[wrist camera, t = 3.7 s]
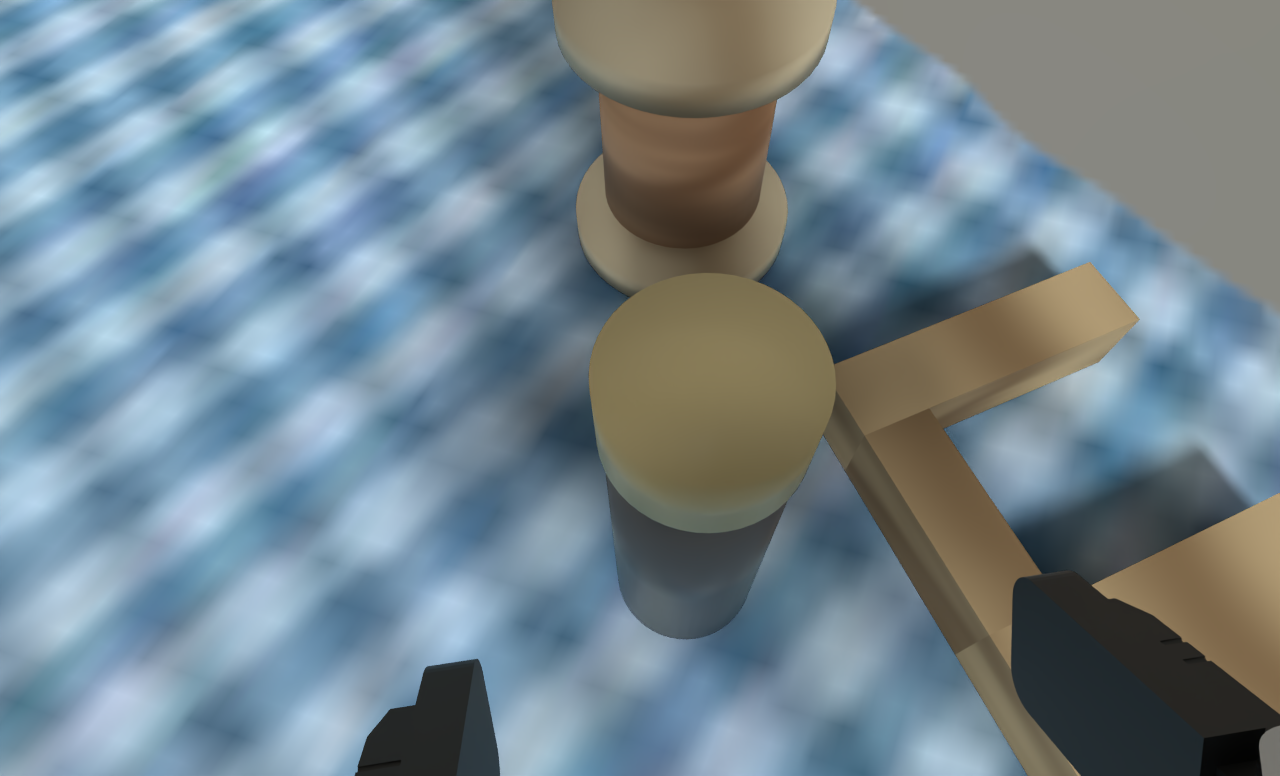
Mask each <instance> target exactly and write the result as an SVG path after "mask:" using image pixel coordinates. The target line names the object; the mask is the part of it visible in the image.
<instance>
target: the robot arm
mask: <svg viewBox="0 0 1280 776" xmlns="http://www.w3.org/2000/svg"><path fill="white" fill-rule="evenodd" d="M1011 673H1012V679H1013V683H1014V686H1015V689H1016V692H1017V695H1018V697H1019V699H1020V701H1021V703H1022V705H1023V706H1024V708H1025V709H1026V711H1027V712H1028V713H1029V714H1030V716H1031V717H1032V718H1033V719H1034V720H1035V722H1036V723H1037V724H1038V725H1039V726H1040V728H1041V729H1042V730H1043V731H1044V732H1045V734H1046V735H1047V736H1048V737H1049V738H1050V740H1051V741H1052V742H1053V743H1054V744H1055V746H1056V747H1057V748H1058V749H1059V750H1060V752H1061V753H1062V754H1063V755H1064V756H1065V758H1066V759H1067V760H1068V761H1069V762H1070V764H1071V765H1072V766H1073V767H1074V768H1075V769H1076V771H1077V772H1078V773H1079V774H1080V775H1081V776H1280V714H1279V713H1278V712H1276V711H1275V710H1274V709H1272V708H1271V707H1270V706H1269V705H1267V704H1266V703H1265V702H1264V701H1262V700H1261V699H1260V698H1258V697H1257V696H1256V695H1255V694H1253V693H1252V692H1251V691H1249V690H1248V689H1247V688H1246V687H1244V686H1243V685H1242V684H1240V683H1239V682H1238V681H1237V680H1235V679H1234V678H1233V677H1232V676H1230V675H1229V674H1228V673H1226V672H1225V671H1224V670H1223V669H1221V668H1220V667H1219V666H1217V665H1216V664H1215V663H1214V662H1212V661H1207V660H1206V658H1205V655H1203V654H1202V653H1201V652H1200V651H1198V650H1197V649H1196V648H1194V647H1193V646H1192V645H1191V644H1189V643H1188V642H1183V641H1182V638H1181V637H1180V636H1179V635H1178V634H1177V633H1175V632H1174V631H1173V630H1171V629H1170V628H1169V627H1168V626H1166V625H1165V624H1164V623H1162V622H1161V621H1160V620H1159V619H1157V618H1156V617H1155V616H1154V615H1152V614H1149V613H1147V612H1145V611H1143V610H1141V609H1138V608H1136V607H1134V606H1132V605H1129V604H1127V603H1125V602H1123V601H1121V600H1118V599H1116V598H1112V599H1108V598H1106V597H1105V596H1104V595H1103V594H1101V593H1100V592H1099V591H1098V590H1096V589H1095V588H1094V587H1093V586H1092V585H1090V584H1089V583H1088V582H1087V581H1085V580H1084V579H1083V578H1082V577H1081V576H1079V575H1078V574H1077V573H1075V572H1073V571H1070V570H1066V571H1060V572H1053V573H1047V574H1040V575H1033V576H1027V577H1021V578H1019V579H1017V581H1016V582H1015V584H1014V587H1013V598H1012V637H1011ZM355 776H500V767H499V757H498V749H497V743H496V738H495V733H494V728H493V723H492V717H491V712H490V707H489V702H488V697H487V692H486V686H485V681H484V676H483V671H482V667H481V664H480V662H479V660H478V659H473V660H467V661H460V662H454V663H447V664H441V665H434V666H427V667H426V668H425V670H424V673H423V677H422V681H421V685H420V689H419V693H418V697H417V701H416V705H413V706H407V707H400V708H394V709H390V710H389V711H388V713H387V714H386V715H385V716H384V717H383V719H382V720H381V721H380V722H379V723H378V725H377V726H376V727H375V728H374V729H373V731H372V732H371V733H370V734H369V735H368V737H367V739H366V742H365V745H364V748H363V751H362V755H361V758H360V761H359V764H358V772H357V773H355Z"/></svg>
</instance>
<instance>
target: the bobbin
mask: <svg viewBox="0 0 1280 776" xmlns="http://www.w3.org/2000/svg"><path fill="white" fill-rule="evenodd" d="M836 2H837V0H552V6H553V14H554V23H555V32H556V37H557V41H558V45H559V48H560V50H561V52H562V54H563V56H564V58H565V60H566V61H567V63H568V64H569V66H570V67H571V68H572V70H573V71H574V72H575V73H576V74H577V75H578V76H579V77H580V78H581V79H582V80H583V81H584V82H586V83H587V84H588V85H589V86H591V87H592V88H593V89H594V90H596V91H598V92H599V103H600V118H601V133H602V148H603V153H602V154H601V155H600V156H599V157H598V158H597V159H596V160H595V161H594V162H593V164H592V165H591V166H590V167H589V169H588V170H587V172H586V173H585V175H584V177H583V179H582V182H581V184H580V187H579V190H578V194H577V201H576V213H577V223H578V232H579V238H580V243H581V247H582V249H583V251H584V254H585V256H586V258H587V260H588V261H589V263H590V265H591V266H592V267H593V269H594V270H595V271H596V272H597V274H598V275H599V276H600V277H601V278H602V279H604V280H605V281H606V282H607V283H608V284H609V285H611V286H612V287H614V288H615V289H616V290H618V291H619V292H621V293H623V294H625V295H627V296H629V297H632V296H633V295H635V294H636V293H638V292H639V291H641V290H643V289H645V288H646V287H648V286H651V285H653V284H655V283H658V282H660V281H663V280H666V279H669V278H673V277H676V276H682V275H687V274H697V273H721V274H728V275H735V276H739V277H743V278H747V279H751V280H753V281H756V282H758V281H759V280H760V279H761V278H762V277H763V276H764V275H765V274H766V273H767V272H768V270H769V269H770V268H771V266H772V265H773V263H774V262H775V259H776V257H777V255H778V253H779V250H780V247H781V244H782V240H783V235H784V231H785V227H786V222H787V213H788V209H787V199H786V194H785V190H784V188H783V185H782V182H781V180H780V178H779V177H778V175H777V173H776V172H775V170H774V169H773V168H772V166H771V165H770V164H769V163H768V162H767V161H766V159H767V153H768V147H769V142H770V136H771V130H772V125H773V119H774V114H775V108H776V102H777V99H779V98H781V97H783V96H784V95H786V94H788V93H789V92H791V91H792V90H793V89H795V88H796V87H798V86H799V85H800V84H801V83H802V82H803V81H804V80H805V79H806V78H807V77H809V76H810V74H811V73H812V72H813V71H814V69H815V68H816V67H817V65H818V64H819V62H820V60H821V58H822V56H823V54H824V52H825V49H826V46H827V43H828V39H829V34H830V30H831V26H832V21H833V17H834V13H835V8H836Z"/></svg>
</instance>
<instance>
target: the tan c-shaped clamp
mask: <svg viewBox="0 0 1280 776" xmlns="http://www.w3.org/2000/svg"><path fill="white" fill-rule="evenodd" d="M1139 320H1140V319H1139V318H1138V317H1137V316H1136V314H1135V313H1134V312H1133V311H1132V310H1131V309H1130V307H1129V306H1128V305H1127V304H1126V303H1125V302H1124V301H1123V299H1122V298H1121V297H1120V296H1119V295H1118V294H1117V293H1116V291H1115V290H1114V289H1113V288H1112V287H1111V286H1110V284H1109V283H1108V282H1107V281H1106V280H1105V279H1104V278H1103V276H1102V275H1101V274H1100V273H1099V272H1098V271H1097V269H1096V268H1095V267H1094V266H1093V265H1092V264H1091V263H1090V262H1089V263H1086V264H1084V265H1081V266H1079V267H1076V268H1074V269H1071V270H1069V271H1066V272H1064V273H1061V274H1059V275H1056V276H1054V277H1051V278H1049V279H1046V280H1044V281H1041V282H1039V283H1036V284H1034V285H1031V286H1029V287H1026V288H1024V289H1021V290H1019V291H1016V292H1014V293H1011V294H1009V295H1006V296H1004V297H1001V298H999V299H996V300H994V301H991V302H989V303H986V304H984V305H981V306H979V307H976V308H974V309H971V310H969V311H966V312H964V313H962V314H959V315H957V316H954V317H952V318H949V319H947V320H944V321H942V322H939V323H937V324H934V325H932V326H929V327H927V328H924V329H922V330H919V331H917V332H914V333H912V334H909V335H907V336H904V337H902V338H899V339H897V340H894V341H892V342H889V343H887V344H884V345H882V346H879V347H877V348H874V349H872V350H869V351H867V352H864V353H862V354H859V355H857V356H854V357H852V358H849V359H847V360H844V361H842V362H839V363H837V364H834V368H835V377H836V393H835V401H834V406H833V410H832V414H831V416H830V419H829V421H828V424H827V426H826V428H825V431H824V433H823V435H824V437H825V438H826V440H827V442H828V443H829V445H830V447H831V448H832V450H833V452H834V453H835V455H836V457H837V458H838V460H839V462H840V463H841V465H842V467H843V468H844V470H845V472H846V473H847V475H848V477H849V478H850V480H851V482H852V483H853V485H854V487H855V488H856V490H857V492H858V493H859V495H860V497H861V498H862V500H863V502H864V503H865V505H866V507H867V508H868V510H869V512H870V513H871V515H872V517H873V518H874V520H875V522H876V523H877V525H878V527H879V528H880V530H881V532H882V533H883V535H884V537H885V538H886V540H887V542H888V543H889V545H890V547H891V548H892V550H893V552H894V553H895V555H896V557H897V558H898V560H899V562H900V563H901V565H902V567H903V568H904V570H905V572H906V573H907V575H908V577H909V578H910V580H911V582H912V583H913V585H914V587H915V588H916V590H917V592H918V593H919V595H920V597H921V598H922V600H923V602H924V603H925V605H926V607H927V608H928V610H929V612H930V613H931V615H932V617H933V618H934V620H935V622H936V623H937V625H938V627H939V628H940V630H941V632H942V633H943V635H944V637H945V638H946V640H947V642H948V643H949V645H950V647H951V648H952V650H953V652H954V653H955V655H956V657H957V658H958V660H959V662H960V663H961V665H962V667H963V668H964V670H965V672H966V673H967V675H968V677H969V678H970V680H971V682H972V683H973V685H974V687H975V688H976V690H977V692H978V693H979V695H980V697H981V698H982V700H983V702H984V703H985V705H986V707H987V708H988V710H989V712H990V713H991V715H992V717H993V718H994V720H995V722H996V723H997V725H998V727H999V728H1000V730H1001V732H1002V733H1003V735H1004V737H1005V738H1006V740H1007V742H1008V743H1009V745H1010V747H1011V748H1012V750H1013V752H1014V753H1015V755H1016V757H1017V758H1018V760H1019V762H1020V763H1021V765H1022V767H1023V768H1024V770H1025V772H1026V773H1027V775H1028V776H1081V775H1080V774H1079V773H1078V772H1077V771H1076V769H1075V768H1074V767H1073V766H1072V765H1071V764H1070V762H1069V761H1068V760H1067V759H1066V758H1065V756H1064V755H1063V754H1062V753H1061V752H1060V750H1059V749H1058V748H1057V747H1056V746H1055V744H1054V743H1053V742H1052V741H1051V740H1050V738H1049V737H1048V736H1047V735H1046V734H1045V732H1044V731H1043V730H1042V729H1041V728H1040V726H1039V725H1038V724H1037V723H1036V722H1035V720H1034V719H1033V718H1032V717H1031V716H1030V714H1029V713H1028V712H1027V711H1026V709H1025V708H1024V706H1023V705H1022V703H1021V701H1020V699H1019V697H1018V695H1017V692H1016V689H1015V686H1014V683H1013V679H1012V673H1011V637H1012V598H1013V587H1014V584H1015V582H1016V581H1017V579H1019V578H1021V577H1027V576H1033V575H1040V574H1042V573H1041V572H1040V570H1039V569H1038V568H1037V566H1036V565H1035V563H1034V562H1033V560H1032V559H1031V557H1030V556H1029V554H1028V553H1027V551H1026V550H1025V548H1024V547H1023V545H1022V544H1021V543H1020V541H1019V540H1018V538H1017V537H1016V535H1015V534H1014V532H1013V531H1012V529H1011V528H1010V526H1009V525H1008V523H1007V522H1006V520H1005V519H1004V517H1003V516H1002V515H1001V513H1000V512H999V510H998V509H997V507H996V506H995V504H994V503H993V501H992V500H991V498H990V497H989V495H988V494H987V492H986V491H985V490H984V488H983V487H982V485H981V484H980V482H979V481H978V479H977V478H976V476H975V475H974V473H973V472H972V470H971V469H970V467H969V466H968V465H967V463H966V462H965V460H964V459H963V457H962V456H961V454H960V453H959V451H958V450H957V448H956V447H955V445H954V444H953V442H952V441H951V440H950V438H949V437H948V435H947V434H946V432H945V431H944V428H946V427H948V426H951V425H953V424H955V423H958V422H960V421H962V420H965V419H967V418H969V417H972V416H974V415H976V414H979V413H981V412H983V411H986V410H988V409H990V408H993V407H995V406H997V405H1000V404H1002V403H1004V402H1007V401H1009V400H1011V399H1014V398H1016V397H1018V396H1021V395H1023V394H1025V393H1028V392H1030V391H1032V390H1035V389H1037V388H1039V387H1042V386H1044V385H1046V384H1049V383H1051V382H1053V381H1056V380H1058V379H1060V378H1063V377H1065V376H1067V375H1070V374H1072V373H1074V372H1077V371H1079V370H1081V369H1084V368H1086V367H1088V366H1091V365H1093V364H1095V363H1098V362H1099V361H1100V360H1101V359H1102V358H1103V357H1104V356H1105V355H1106V354H1107V353H1108V352H1109V351H1110V350H1111V349H1112V348H1113V347H1114V346H1115V345H1116V344H1117V342H1118V341H1119V340H1120V339H1121V338H1122V337H1123V336H1124V335H1125V334H1126V333H1127V332H1128V331H1129V330H1130V329H1131V328H1132V327H1133V326H1134V325H1135V324H1136V323H1137V322H1138V321H1139ZM1092 586H1093V587H1094V588H1095V589H1096V590H1098V591H1099V592H1100V593H1101V594H1103V595H1104V596H1105V597H1106V598H1108V599H1112V598H1116V599H1118V600H1121V601H1123V602H1125V603H1127V604H1129V605H1132V606H1134V607H1136V608H1138V609H1141V610H1143V611H1145V612H1147V613H1149V614H1152V615H1154V616H1155V617H1156V618H1157V619H1159V620H1160V621H1161V622H1162V623H1164V624H1165V625H1166V626H1168V627H1169V628H1170V629H1171V630H1173V631H1174V632H1175V633H1177V634H1178V635H1179V636H1180V637H1181V638H1182V641H1183V642H1188V643H1189V644H1191V645H1192V646H1193V647H1194V648H1196V649H1197V650H1198V651H1200V652H1201V653H1202V654H1203V655H1205V658H1206V660H1207V661H1212V662H1214V663H1215V664H1216V665H1217V666H1219V667H1220V668H1221V669H1223V670H1224V671H1225V672H1226V673H1228V674H1229V675H1230V676H1232V677H1233V678H1234V679H1235V680H1237V681H1238V682H1239V683H1240V684H1242V685H1243V686H1244V687H1246V688H1247V689H1248V690H1249V691H1251V692H1252V693H1253V694H1255V695H1256V696H1257V697H1258V698H1260V699H1261V700H1262V701H1264V702H1265V703H1266V704H1267V705H1269V706H1270V707H1271V708H1272V709H1274V710H1275V711H1276V712H1278V713H1279V714H1280V493H1279V494H1277V495H1275V496H1273V497H1271V498H1268V499H1266V500H1264V501H1262V502H1260V503H1258V504H1256V505H1254V506H1252V507H1250V508H1248V509H1246V510H1244V511H1242V512H1240V513H1238V514H1236V515H1234V516H1232V517H1230V518H1228V519H1226V520H1224V521H1221V522H1219V523H1217V524H1215V525H1213V526H1211V527H1209V528H1207V529H1205V530H1203V531H1201V532H1199V533H1197V534H1195V535H1193V536H1191V537H1189V538H1187V539H1185V540H1183V541H1181V542H1179V543H1177V544H1174V545H1172V546H1170V547H1168V548H1166V549H1164V550H1162V551H1160V552H1158V553H1156V554H1154V555H1152V556H1150V557H1148V558H1146V559H1144V560H1142V561H1140V562H1138V563H1136V564H1134V565H1132V566H1130V567H1127V568H1125V569H1123V570H1121V571H1119V572H1117V573H1115V574H1113V575H1111V576H1109V577H1107V578H1105V579H1103V580H1101V581H1099V582H1097V583H1095V584H1093V585H1092Z"/></svg>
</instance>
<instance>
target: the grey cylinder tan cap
mask: <svg viewBox="0 0 1280 776" xmlns="http://www.w3.org/2000/svg"><path fill="white" fill-rule="evenodd" d="M589 389H590V397H591V405H592V412H593V420H594V427H595V435H596V442H597V448H598V453H599V457H600V460H601V463H602V465H603V468H604V470H605V472H606V478H607V487H608V495H609V504H610V512H611V521H612V530H613V538H614V547H615V555H616V564H617V572H618V581H619V586H620V590H621V593H622V596H623V599H624V601H625V603H626V605H627V606H628V608H629V609H630V611H631V612H632V614H633V615H634V616H635V617H636V618H637V619H638V620H639V621H640V622H641V623H642V624H644V625H645V626H646V627H648V628H649V629H651V630H652V631H655V632H657V633H659V634H661V635H664V636H667V637H671V638H676V639H695V638H700V637H704V636H707V635H710V634H713V633H715V632H716V631H718V630H720V629H722V628H723V627H724V626H726V625H727V624H728V623H729V622H730V621H731V620H732V619H733V618H734V617H735V616H736V615H737V614H738V612H739V611H740V609H741V608H742V606H743V604H744V602H745V600H746V597H747V595H748V592H749V590H750V588H751V585H752V583H753V581H754V578H755V576H756V574H757V571H758V569H759V567H760V564H761V562H762V559H763V557H764V555H765V552H766V550H767V548H768V545H769V543H770V541H771V538H772V536H773V534H774V531H775V529H776V526H777V524H778V522H779V519H780V517H781V515H782V512H783V510H784V508H785V505H786V503H787V501H788V500H789V498H790V497H791V496H792V495H793V493H794V492H795V491H796V490H797V488H798V486H799V485H800V483H801V481H802V480H803V478H804V476H805V474H806V471H807V469H808V467H809V465H810V462H811V460H812V458H813V456H814V453H815V451H816V449H817V446H818V444H819V442H820V440H821V437H822V435H823V433H824V431H825V428H826V426H827V424H828V421H829V419H830V416H831V414H832V410H833V406H834V401H835V393H836V377H835V368H834V364H833V359H832V356H831V353H830V350H829V348H828V345H827V343H826V341H825V339H824V337H823V336H822V334H821V332H820V330H819V329H818V328H817V326H816V325H815V324H814V322H813V321H812V319H811V318H810V317H809V316H808V315H807V314H806V313H805V312H804V311H803V310H802V309H801V308H800V307H799V306H797V305H796V304H795V303H794V302H793V301H791V300H790V299H789V298H787V297H786V296H784V295H783V294H781V293H779V292H778V291H776V290H774V289H772V288H770V287H768V286H766V285H764V284H761V283H759V282H756V281H753V280H751V279H747V278H743V277H739V276H735V275H728V274H721V273H697V274H687V275H682V276H676V277H673V278H669V279H666V280H663V281H660V282H658V283H655V284H653V285H651V286H648V287H646V288H645V289H643V290H641V291H639V292H638V293H636V294H635V295H633V296H632V297H631V298H629V299H628V300H627V301H625V302H624V303H623V304H622V305H621V306H620V307H619V308H618V309H617V310H616V311H615V312H614V313H613V314H612V315H611V317H610V318H609V319H608V320H607V322H606V323H605V325H604V326H603V328H602V330H601V332H600V333H599V335H598V337H597V340H596V342H595V345H594V347H593V351H592V355H591V359H590V366H589Z"/></svg>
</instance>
